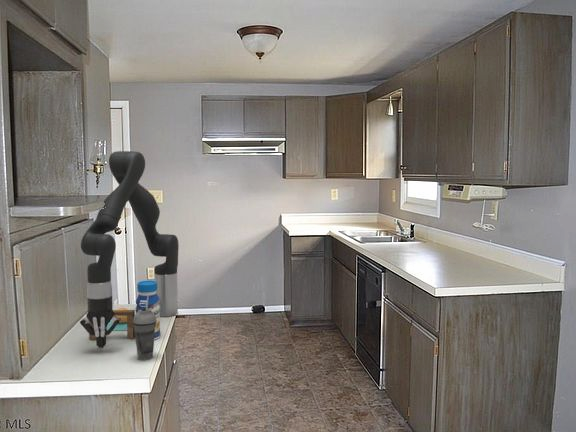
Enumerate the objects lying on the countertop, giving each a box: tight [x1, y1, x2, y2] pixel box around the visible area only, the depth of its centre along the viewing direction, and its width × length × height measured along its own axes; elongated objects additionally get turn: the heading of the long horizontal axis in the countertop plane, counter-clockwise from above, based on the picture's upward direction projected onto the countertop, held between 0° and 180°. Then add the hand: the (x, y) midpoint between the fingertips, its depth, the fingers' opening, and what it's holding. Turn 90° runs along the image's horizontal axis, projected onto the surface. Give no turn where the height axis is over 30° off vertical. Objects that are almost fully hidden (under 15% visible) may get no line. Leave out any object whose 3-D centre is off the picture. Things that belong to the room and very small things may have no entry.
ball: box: [116, 307, 128, 323], centre depth 187 cm, size 6×6×6 cm
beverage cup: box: [133, 295, 157, 361], centre depth 151 cm, size 7×7×20 cm
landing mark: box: [107, 320, 127, 332], centre depth 184 cm, size 12×12×1 cm
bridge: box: [88, 309, 136, 341], centre depth 170 cm, size 3×15×10 cm, turn 95°
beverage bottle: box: [134, 280, 161, 341], centre depth 170 cm, size 8×8×20 cm
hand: (101, 347), depth 157 cm, fingers closed
